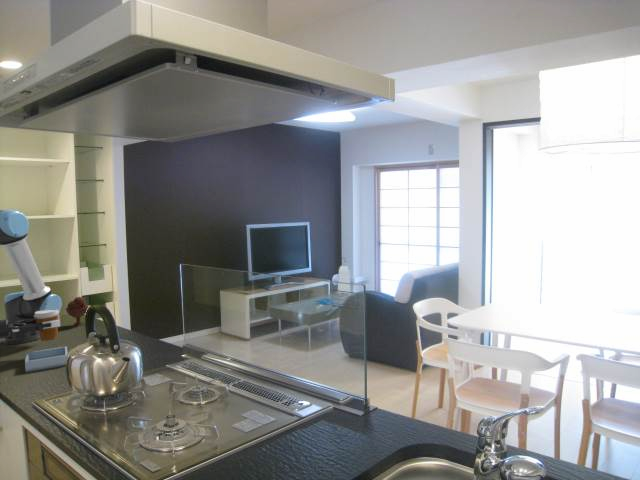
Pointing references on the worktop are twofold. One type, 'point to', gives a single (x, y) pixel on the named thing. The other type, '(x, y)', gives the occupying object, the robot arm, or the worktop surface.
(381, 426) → the worktop surface
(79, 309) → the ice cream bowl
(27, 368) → the tote
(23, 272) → the robot arm
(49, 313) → the disposable coffee cup
